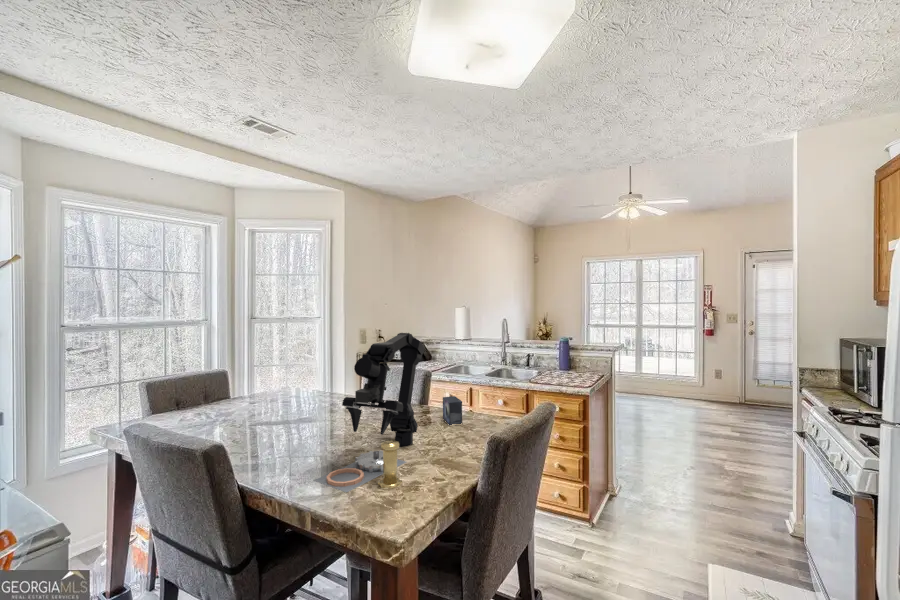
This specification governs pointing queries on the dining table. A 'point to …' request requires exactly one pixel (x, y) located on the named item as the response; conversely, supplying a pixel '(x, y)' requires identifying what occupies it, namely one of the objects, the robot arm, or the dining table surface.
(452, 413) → the small box
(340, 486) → the gear board
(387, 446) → the gold piece
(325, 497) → the dining table surface
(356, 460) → the gear
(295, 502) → the dining table surface
